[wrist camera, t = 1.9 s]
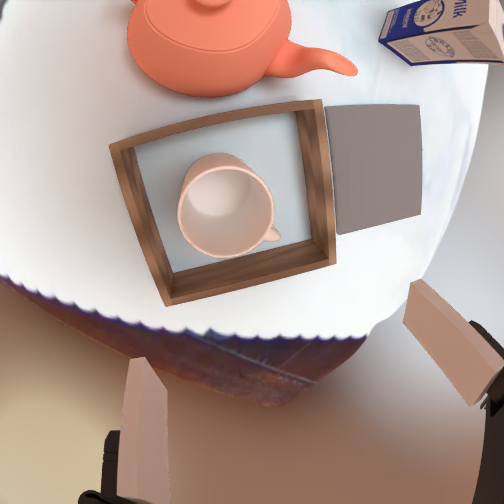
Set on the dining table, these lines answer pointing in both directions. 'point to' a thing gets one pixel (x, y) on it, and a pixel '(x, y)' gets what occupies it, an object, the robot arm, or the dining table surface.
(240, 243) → the mug
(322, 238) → the walnut caddy
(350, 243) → the dining table surface
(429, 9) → the milk carton
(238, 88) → the teapot
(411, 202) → the slate trivet
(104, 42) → the dining table surface
